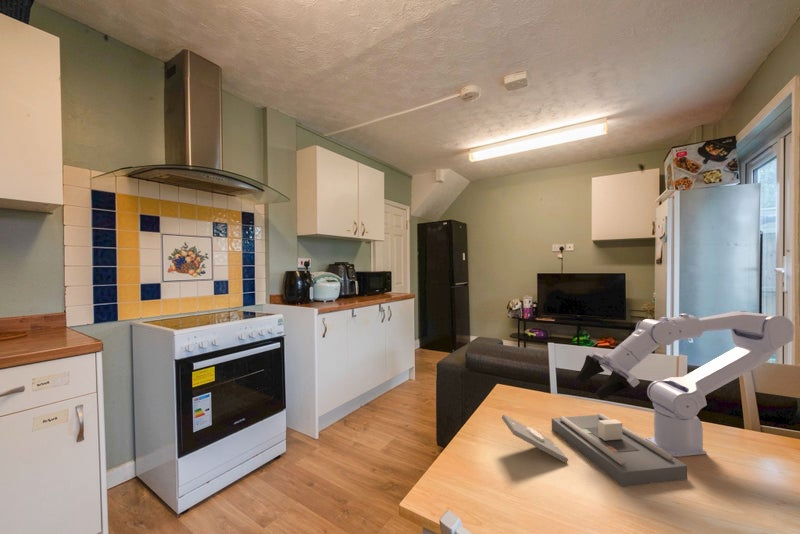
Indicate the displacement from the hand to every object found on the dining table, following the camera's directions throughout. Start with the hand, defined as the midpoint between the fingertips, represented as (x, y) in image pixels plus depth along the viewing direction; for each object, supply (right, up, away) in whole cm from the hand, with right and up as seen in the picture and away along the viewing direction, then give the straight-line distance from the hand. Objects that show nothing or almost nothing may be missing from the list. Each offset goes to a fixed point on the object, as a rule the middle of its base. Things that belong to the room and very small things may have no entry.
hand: (587, 388), depth 82 cm
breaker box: (+4, -15, -3) cm, 15 cm away
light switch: (-16, -15, -4) cm, 22 cm away
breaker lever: (+4, -11, -3) cm, 12 cm away
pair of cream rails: (+4, -12, -3) cm, 13 cm away
